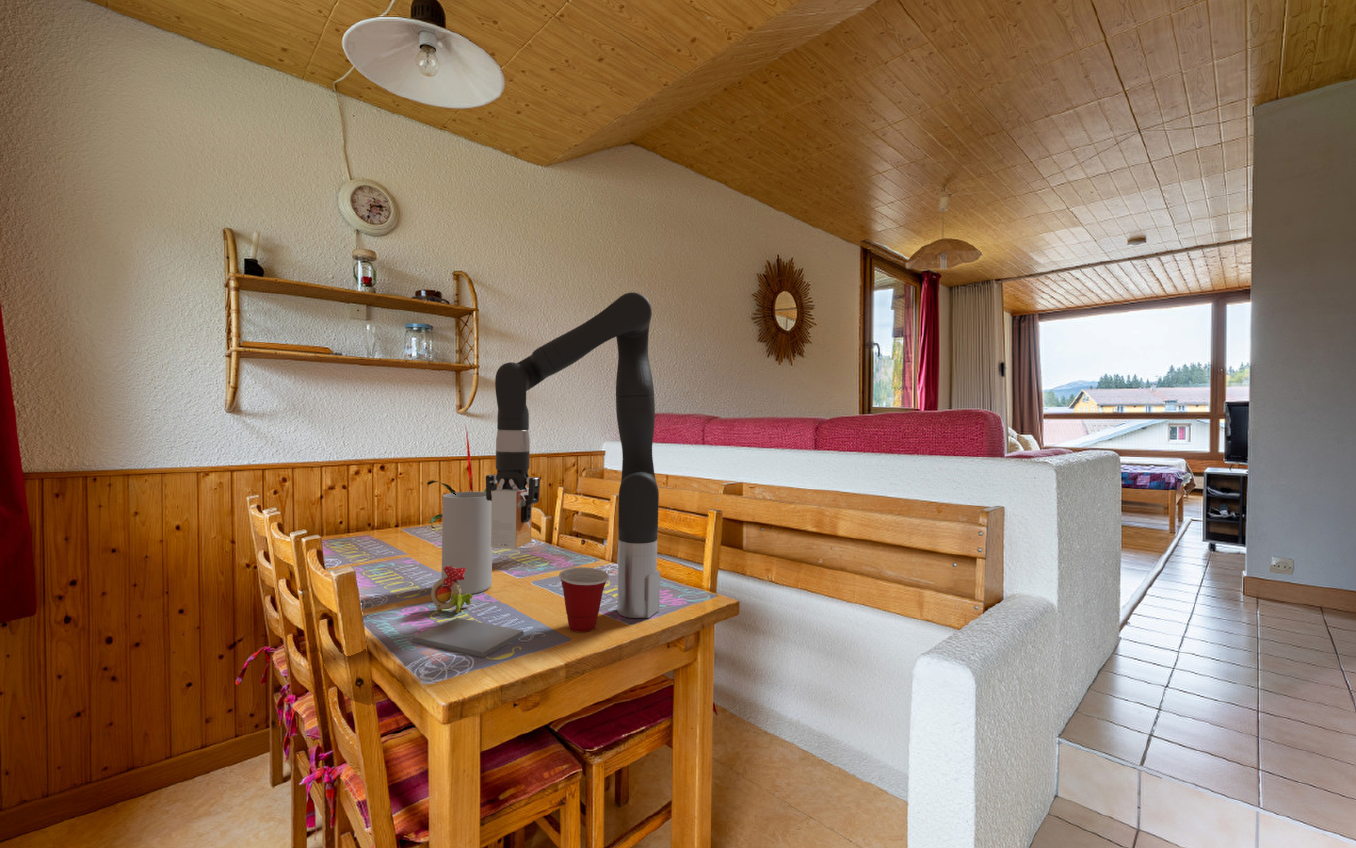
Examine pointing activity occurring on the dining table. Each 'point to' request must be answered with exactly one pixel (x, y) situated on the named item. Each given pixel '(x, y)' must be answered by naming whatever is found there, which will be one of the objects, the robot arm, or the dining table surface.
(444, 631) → the slate tile
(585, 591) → the plastic cup
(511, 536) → the small box
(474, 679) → the dining table surface
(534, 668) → the dining table surface
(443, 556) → the cylinder vase
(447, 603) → the bird rattle
